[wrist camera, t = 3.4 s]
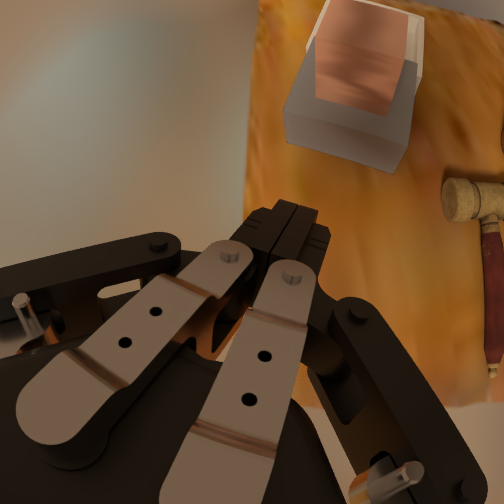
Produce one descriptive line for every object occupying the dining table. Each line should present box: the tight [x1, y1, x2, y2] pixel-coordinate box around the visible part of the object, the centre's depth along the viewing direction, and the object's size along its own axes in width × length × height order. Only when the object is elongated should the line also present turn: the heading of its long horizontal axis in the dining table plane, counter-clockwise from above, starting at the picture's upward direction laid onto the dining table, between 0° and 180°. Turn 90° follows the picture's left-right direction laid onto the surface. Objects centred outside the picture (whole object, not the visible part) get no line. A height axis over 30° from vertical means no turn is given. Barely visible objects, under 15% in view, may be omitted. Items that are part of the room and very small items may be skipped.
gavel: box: [441, 177, 504, 378], centre depth 26 cm, size 21×5×10 cm
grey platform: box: [283, 36, 418, 174], centre depth 31 cm, size 12×12×6 cm
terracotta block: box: [315, 0, 409, 117], centre depth 24 cm, size 7×7×8 cm
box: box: [306, 0, 424, 94], centre depth 34 cm, size 14×14×4 cm
